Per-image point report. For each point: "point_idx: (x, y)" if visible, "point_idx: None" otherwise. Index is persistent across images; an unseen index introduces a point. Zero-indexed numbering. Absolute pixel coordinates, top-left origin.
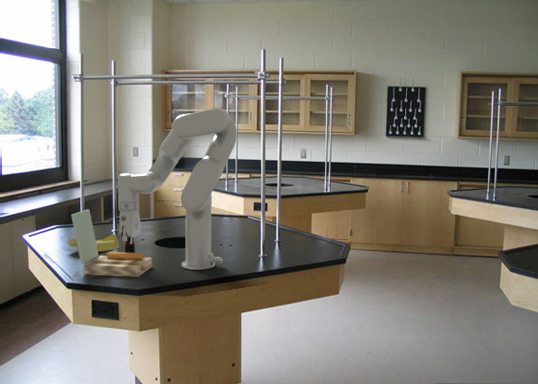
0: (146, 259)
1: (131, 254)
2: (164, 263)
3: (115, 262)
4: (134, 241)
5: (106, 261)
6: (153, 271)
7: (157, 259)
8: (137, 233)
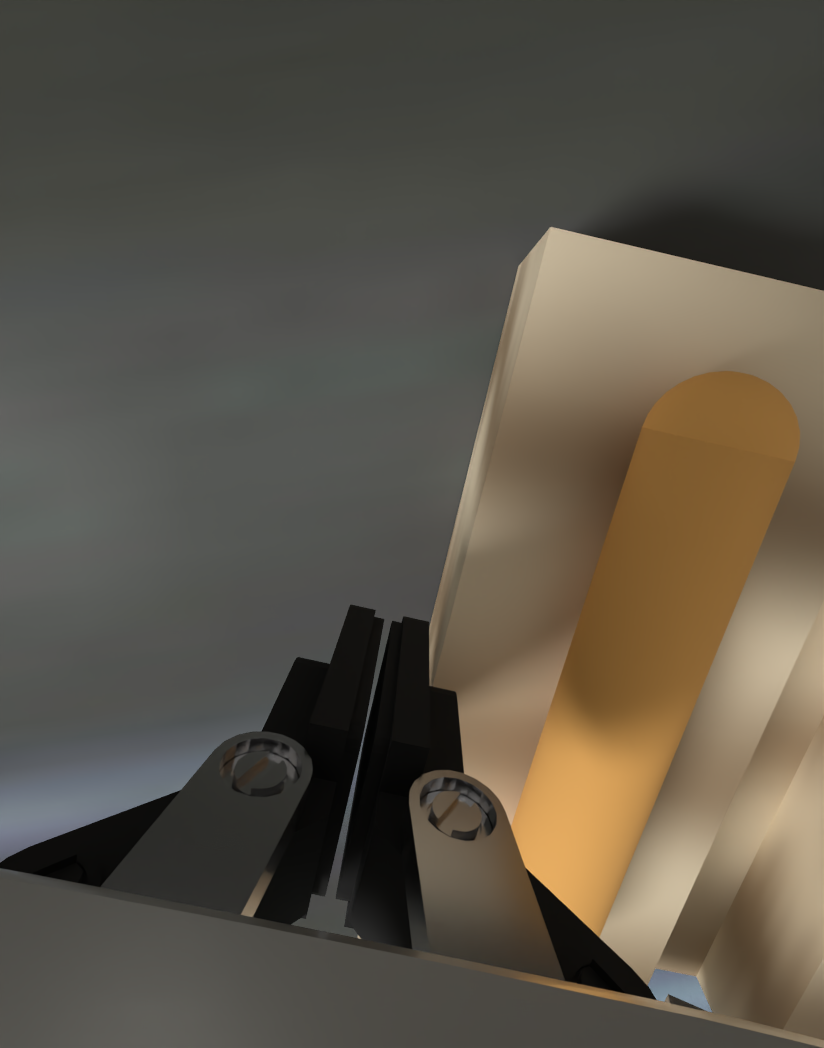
0: (690, 318)
1: (721, 636)
2: (306, 62)
3: (721, 795)
4: (225, 761)
5: (673, 910)
6: (805, 196)
7: (49, 235)
8: (162, 984)
